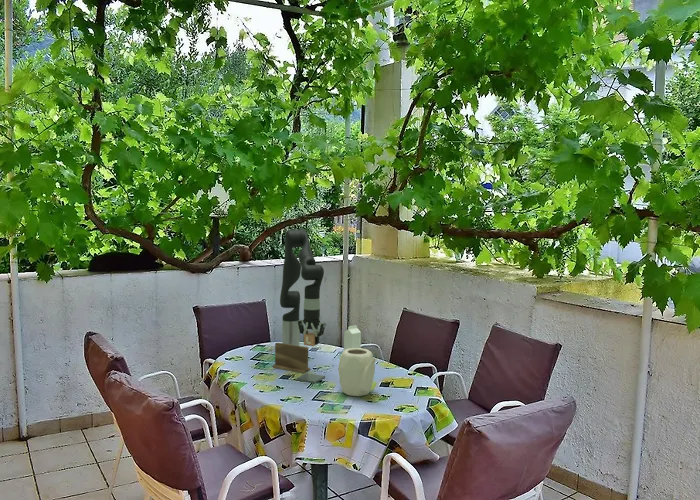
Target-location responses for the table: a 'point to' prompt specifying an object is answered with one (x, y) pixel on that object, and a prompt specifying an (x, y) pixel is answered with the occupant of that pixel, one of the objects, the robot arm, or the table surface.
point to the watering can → (356, 371)
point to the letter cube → (309, 339)
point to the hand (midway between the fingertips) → (311, 343)
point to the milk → (352, 337)
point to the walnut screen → (291, 357)
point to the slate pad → (310, 378)
